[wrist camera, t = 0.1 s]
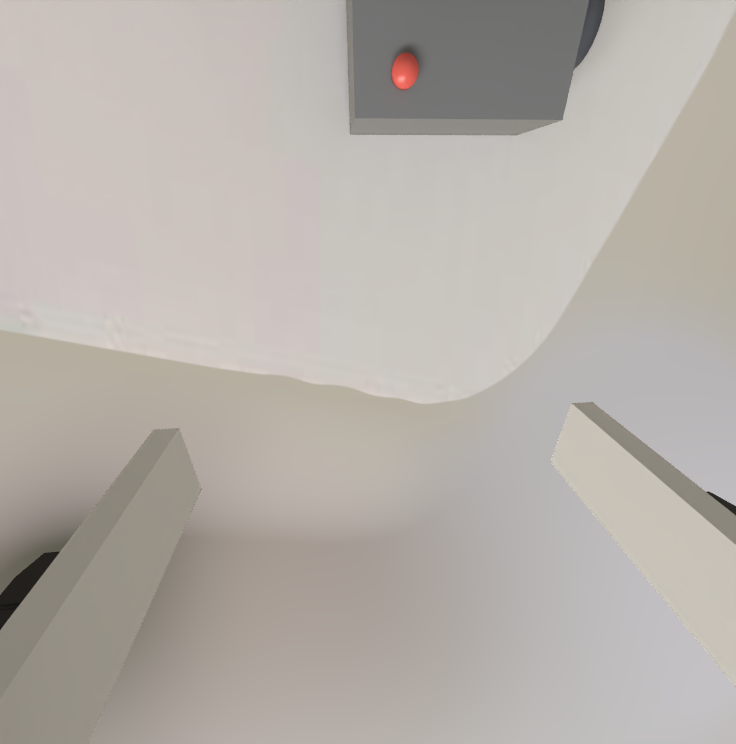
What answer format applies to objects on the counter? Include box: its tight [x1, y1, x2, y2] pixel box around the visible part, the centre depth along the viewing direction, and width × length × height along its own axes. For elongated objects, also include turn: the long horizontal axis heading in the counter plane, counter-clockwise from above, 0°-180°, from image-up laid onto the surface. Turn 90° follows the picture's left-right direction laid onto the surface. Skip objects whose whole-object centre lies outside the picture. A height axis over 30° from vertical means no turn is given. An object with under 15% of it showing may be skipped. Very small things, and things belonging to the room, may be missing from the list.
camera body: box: [346, 0, 605, 135], centre depth 24 cm, size 10×18×8 cm, turn 90°
